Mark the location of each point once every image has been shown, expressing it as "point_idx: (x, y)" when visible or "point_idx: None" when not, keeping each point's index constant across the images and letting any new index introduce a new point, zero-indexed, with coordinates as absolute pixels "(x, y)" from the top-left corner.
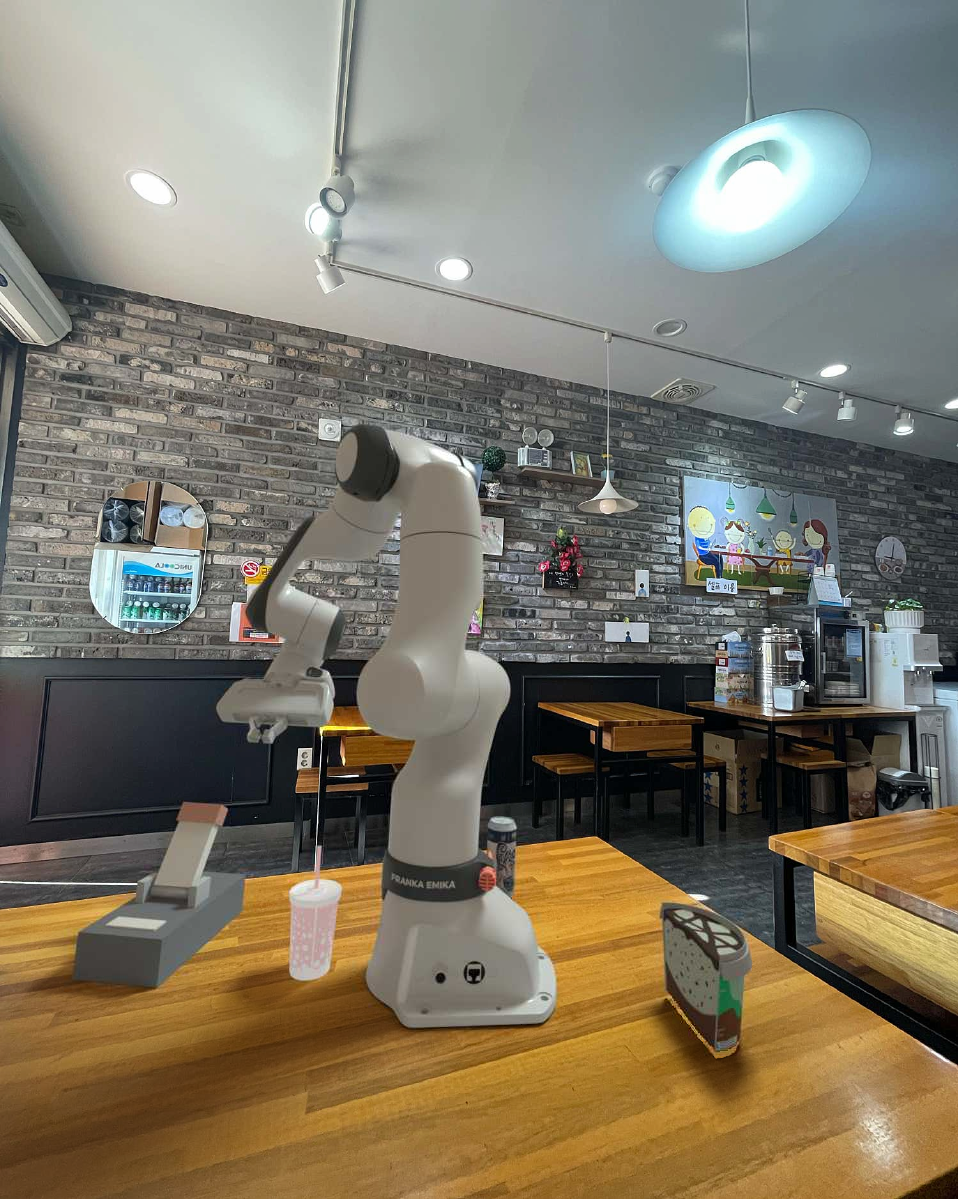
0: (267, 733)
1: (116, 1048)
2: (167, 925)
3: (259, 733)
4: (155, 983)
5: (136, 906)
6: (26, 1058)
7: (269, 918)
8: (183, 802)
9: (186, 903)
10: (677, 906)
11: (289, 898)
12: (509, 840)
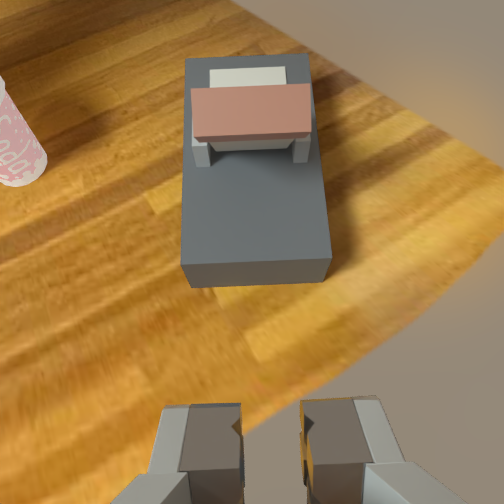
0: (196, 428)
1: (171, 34)
2: (202, 85)
3: (316, 499)
4: None
5: None
6: (239, 15)
7: (130, 275)
8: (309, 84)
9: None
10: None
11: (3, 81)
12: None
